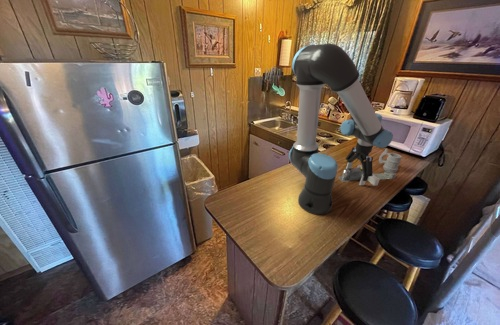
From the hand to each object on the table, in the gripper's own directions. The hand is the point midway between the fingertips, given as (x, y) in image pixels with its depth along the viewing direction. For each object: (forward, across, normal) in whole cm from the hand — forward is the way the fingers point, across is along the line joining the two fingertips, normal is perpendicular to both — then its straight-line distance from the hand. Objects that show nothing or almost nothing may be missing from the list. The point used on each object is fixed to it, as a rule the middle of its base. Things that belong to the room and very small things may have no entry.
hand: (354, 178), depth 112 cm
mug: (0, +9, -28) cm, 29 cm away
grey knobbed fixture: (0, 0, +7) cm, 7 cm away
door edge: (0, 0, -7) cm, 7 cm away
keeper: (0, 0, -16) cm, 16 cm away
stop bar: (0, 0, 0) cm, 0 cm away
